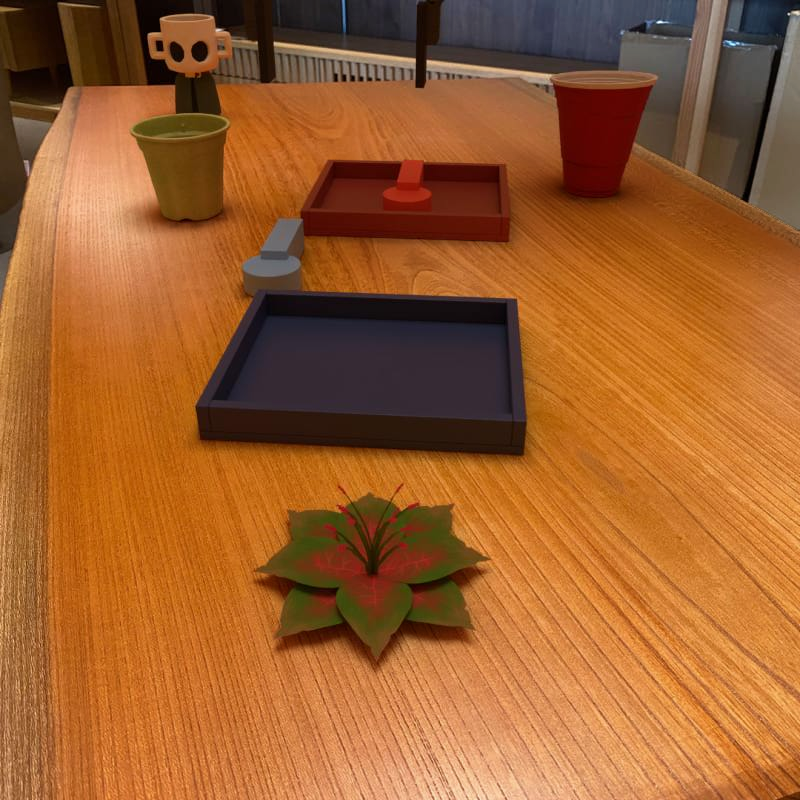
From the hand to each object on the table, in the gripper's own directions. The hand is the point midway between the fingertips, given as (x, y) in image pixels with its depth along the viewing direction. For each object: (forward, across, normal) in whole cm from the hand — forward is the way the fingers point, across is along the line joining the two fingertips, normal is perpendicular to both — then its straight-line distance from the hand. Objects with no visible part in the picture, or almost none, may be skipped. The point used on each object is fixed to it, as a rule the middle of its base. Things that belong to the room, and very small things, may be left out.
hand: (344, 83), depth 74 cm
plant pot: (+14, -16, +3) cm, 22 cm away
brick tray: (+13, +6, +6) cm, 16 cm away
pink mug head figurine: (+14, -27, +40) cm, 50 cm away
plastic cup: (+13, +24, +15) cm, 31 cm away
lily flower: (+14, +8, -47) cm, 49 cm away
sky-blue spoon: (+14, -4, -11) cm, 18 cm away
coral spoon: (+13, +5, +6) cm, 15 cm away
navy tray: (+13, +6, -28) cm, 31 cm away
